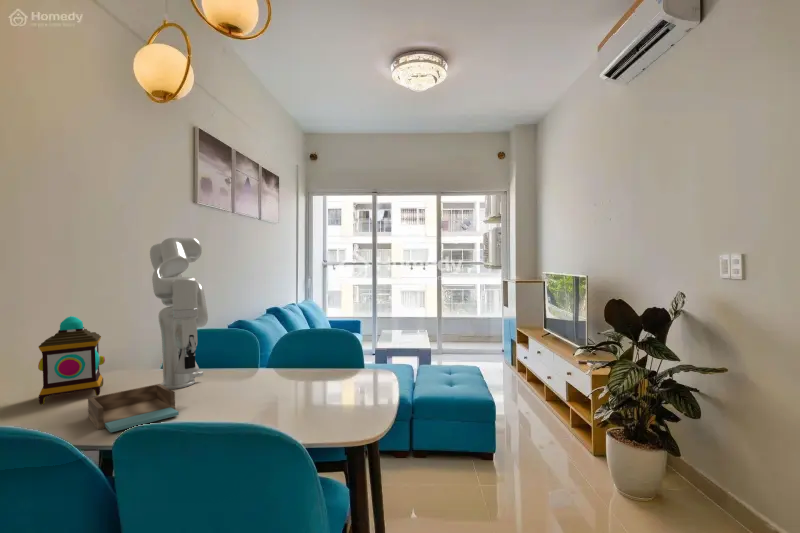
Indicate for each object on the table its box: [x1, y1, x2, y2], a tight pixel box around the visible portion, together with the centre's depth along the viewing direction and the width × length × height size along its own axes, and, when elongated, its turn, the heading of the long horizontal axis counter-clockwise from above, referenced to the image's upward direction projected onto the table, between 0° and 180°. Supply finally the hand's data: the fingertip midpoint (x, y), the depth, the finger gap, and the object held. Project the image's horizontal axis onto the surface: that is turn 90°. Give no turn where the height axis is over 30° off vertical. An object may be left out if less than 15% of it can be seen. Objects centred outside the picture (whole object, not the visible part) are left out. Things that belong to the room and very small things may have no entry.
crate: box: [87, 383, 176, 430], centre depth 128 cm, size 20×16×6 cm
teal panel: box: [105, 407, 180, 433], centre depth 120 cm, size 17×1×8 cm
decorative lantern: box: [37, 315, 106, 406], centre depth 154 cm, size 20×20×30 cm
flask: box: [175, 346, 200, 374], centre depth 139 cm, size 7×7×10 cm
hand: (187, 366), depth 139 cm, fingers closed on flask, 5 cm apart
